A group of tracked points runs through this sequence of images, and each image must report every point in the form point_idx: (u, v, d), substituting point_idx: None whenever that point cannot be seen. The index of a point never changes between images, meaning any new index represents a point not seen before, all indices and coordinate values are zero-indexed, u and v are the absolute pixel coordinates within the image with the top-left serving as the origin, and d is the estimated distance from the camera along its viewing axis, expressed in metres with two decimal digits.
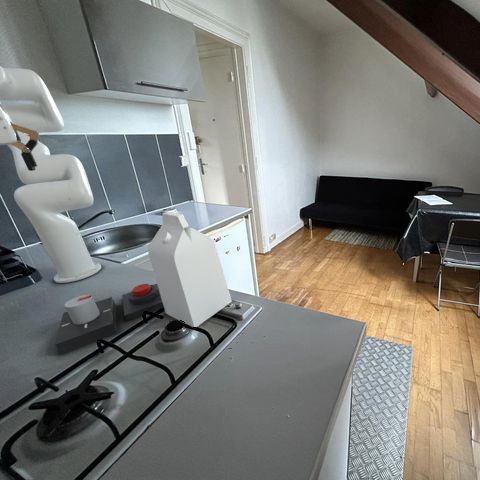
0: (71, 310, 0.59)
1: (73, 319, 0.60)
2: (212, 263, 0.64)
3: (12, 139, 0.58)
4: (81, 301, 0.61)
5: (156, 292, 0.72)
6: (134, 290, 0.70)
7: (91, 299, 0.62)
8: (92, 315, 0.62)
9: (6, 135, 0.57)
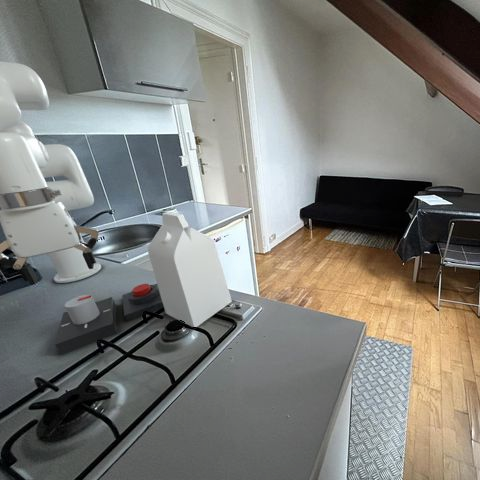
0: (71, 310, 0.59)
1: (73, 319, 0.60)
2: (212, 263, 0.64)
3: (75, 242, 0.57)
4: (81, 301, 0.61)
5: (156, 292, 0.72)
6: (134, 290, 0.70)
7: (91, 299, 0.62)
8: (92, 315, 0.62)
9: (70, 240, 0.56)
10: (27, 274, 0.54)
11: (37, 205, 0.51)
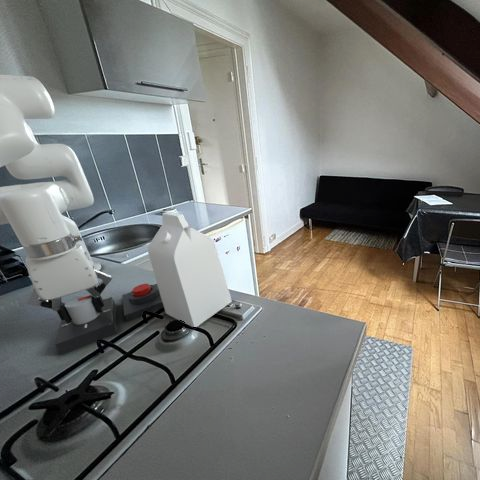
0: (71, 310, 0.59)
1: (73, 319, 0.60)
2: (212, 263, 0.64)
3: (95, 283, 0.61)
4: (81, 301, 0.61)
5: (156, 292, 0.72)
6: (134, 290, 0.70)
7: (91, 299, 0.62)
8: (92, 315, 0.62)
9: (90, 281, 0.60)
10: (64, 314, 0.59)
11: (61, 253, 0.54)
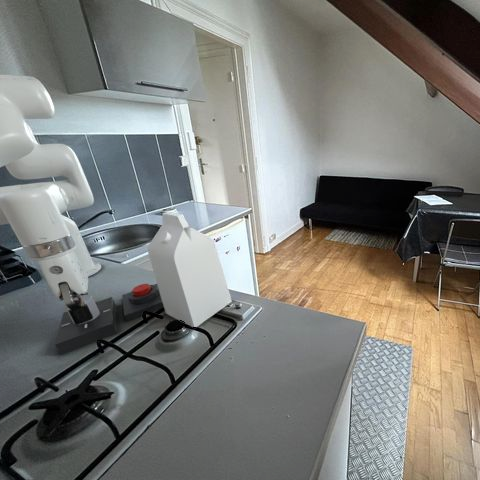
0: None
1: None
2: (212, 263, 0.64)
3: (58, 298, 0.55)
4: None
5: (156, 292, 0.72)
6: (134, 290, 0.70)
7: None
8: None
9: (54, 294, 0.55)
10: None
11: (29, 258, 0.53)
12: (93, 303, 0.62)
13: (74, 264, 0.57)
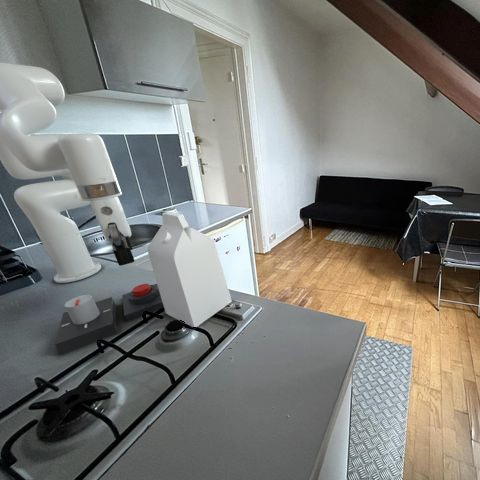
0: None
1: None
2: (212, 263, 0.64)
3: (107, 238, 0.60)
4: (72, 303, 0.60)
5: (156, 292, 0.72)
6: (134, 290, 0.70)
7: (73, 308, 0.59)
8: (73, 320, 0.60)
9: (104, 235, 0.60)
10: None
11: (83, 199, 0.58)
12: (93, 303, 0.62)
13: (121, 208, 0.61)
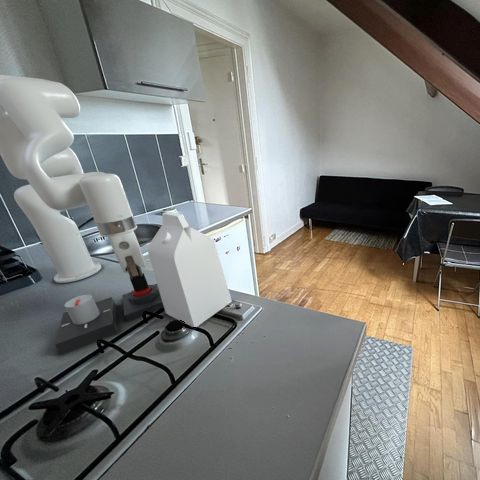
0: None
1: None
2: (212, 263, 0.64)
3: (124, 270, 0.64)
4: (72, 303, 0.60)
5: (156, 292, 0.72)
6: (134, 291, 0.70)
7: (73, 308, 0.59)
8: (73, 320, 0.60)
9: (121, 267, 0.64)
10: None
11: (101, 234, 0.61)
12: (93, 303, 0.62)
13: (136, 241, 0.65)
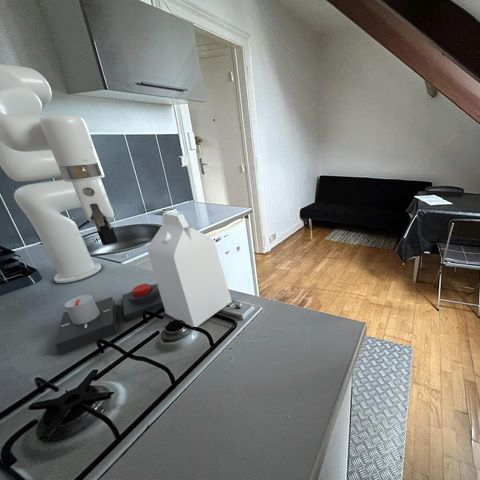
0: None
1: None
2: (212, 263, 0.64)
3: (89, 219, 0.61)
4: (72, 303, 0.60)
5: (156, 292, 0.72)
6: (134, 290, 0.70)
7: (73, 308, 0.59)
8: (73, 320, 0.60)
9: (86, 215, 0.61)
10: None
11: (65, 179, 0.59)
12: (93, 303, 0.62)
13: (103, 190, 0.63)
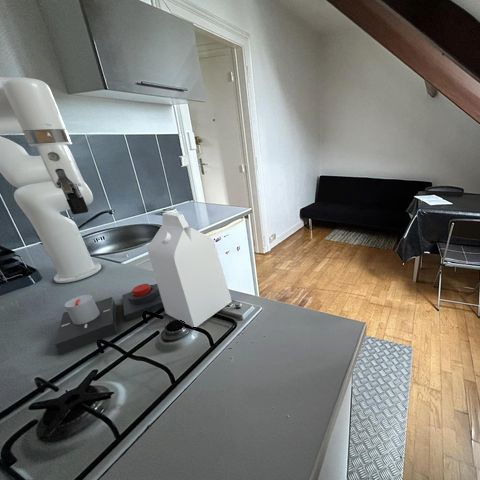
0: None
1: None
2: (212, 263, 0.64)
3: (55, 185, 0.62)
4: (72, 303, 0.60)
5: (156, 292, 0.72)
6: (134, 290, 0.70)
7: (73, 308, 0.59)
8: (73, 320, 0.60)
9: (52, 181, 0.62)
10: None
11: (30, 144, 0.59)
12: (93, 303, 0.62)
13: (70, 156, 0.63)
